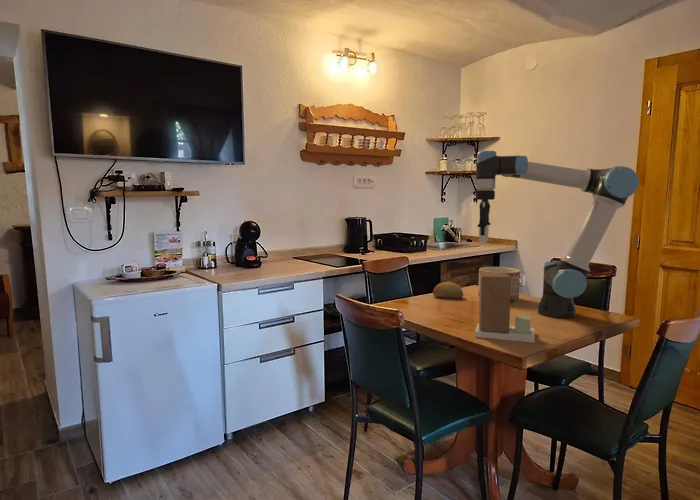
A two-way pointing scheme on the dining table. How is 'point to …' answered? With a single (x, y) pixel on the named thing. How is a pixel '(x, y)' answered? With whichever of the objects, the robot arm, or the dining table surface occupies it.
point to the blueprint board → (507, 335)
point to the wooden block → (494, 302)
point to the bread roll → (448, 290)
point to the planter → (512, 273)
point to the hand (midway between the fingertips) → (483, 242)
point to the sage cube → (522, 324)
